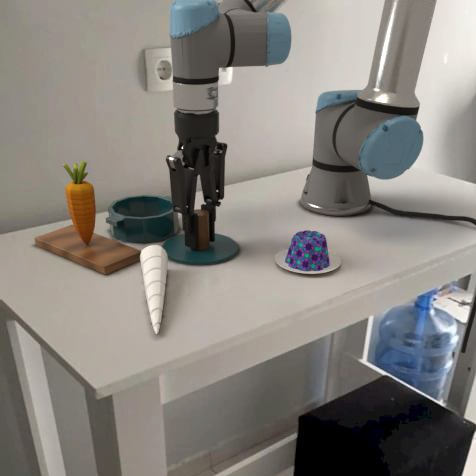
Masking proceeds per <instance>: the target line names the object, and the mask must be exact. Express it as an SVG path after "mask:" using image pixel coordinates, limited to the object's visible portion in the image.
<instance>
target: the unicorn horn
mask: <svg viewBox="0 0 476 476" xmlns="http://www.w3.org/2000/svg"><path fill="white" fill-rule="evenodd" d="M162 247H163V246H161V245H158V244H151V245H148V246H145V247H144V248H142V249H141V254H140V260H139V261H140V266H141V272H142V273H141V274H142V280H143V287H144V291H145V296H146V297H145V298H146V302H147V308H148V312H149V317H150V320H151V326H152V328H153V331H154V333H155V334H156V335H157V334H159V331H160V328H161V323H162V317H163V310H164V302H165V293H166V286H167V285H166V284H167V275H168V264H169V258H168V256H167V253H166V251H165V250H164V249H163V248H162Z"/></svg>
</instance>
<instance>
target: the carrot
mask: <svg viewBox="0 0 476 476" xmlns="http://www.w3.org/2000/svg"><path fill="white" fill-rule="evenodd" d="M87 165H88V162H87V161H86V160H81V162H80V165H78V163H77V162H76V163H74V164H73V170H72V169H71V167H70V166H69V165H68V164H67V163H63V164H62V168H64V169H65V170H66V172H67V174H68V175H69V176H70V178H71V180H72V181H70V182H69V183H67V185H66V186H65V189H64V192H65V193H64V194H65V198H66V203H67V208H68V213H69V216H70V219H71V222H72V225H74V227H75V230H76V231H77V233H78V235H79V237H80V238H81V239H82V241H83V242H84V243H85V244H87V245H88V244H89V242H90V241H91V238H92V235H93V233H95V227H96V216H97V206H96V197H95V194H96V193H95V188H94V185H93V184H92V183H91V182H89V181H86V180H85V178H87V176H88V175H89V172H88V171H85V170H86V167H87Z"/></svg>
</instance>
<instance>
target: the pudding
mask: <svg viewBox="0 0 476 476" xmlns="http://www.w3.org/2000/svg"><path fill="white" fill-rule="evenodd" d="M274 262H275V263H276V264H277V265H278V266H280V267H281V268H282V269H285V270H287V271H290V272H293V273H298V274H299V273H300V274H309V275H314V274H315V275H316V274H324V273H328V272H331V271H334V270H336V269H338V268H339V267H340V266H341V265H342V259H341V257H340V256H339V255H338V254H337V253H336V252H334V251H331V250H329V248H328V242H327V238H326V235H325V234H324V233H321V232H319V231H317V230H307V229H306V230H303V231H302V230H299V231H297V232H296V233H295V234H293V236H292V238H291V240H290V244H289V247H287V248H284V249H282V250H279V251H278V252H277V253H276V254H275V255H274Z"/></svg>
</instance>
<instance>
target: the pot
mask: <svg viewBox="0 0 476 476" xmlns="http://www.w3.org/2000/svg"><path fill="white" fill-rule="evenodd" d="M107 213H108V216H107V217H105V223H106V224H108V225H109V230H110V233H111V234H112V236H113V237H114V238H116V239H118V240H120V241H124V242H126V243H140V244H147V243H154V242H162V241H164V240H168V239H170V238H172V237H175V236H176V234H177V232H178V231H179V230H180V223H179V213H178V212H174V211H173V209H172V198H171V196H168V195H166V196H162V195H152V194H151V195H150V194H141V195H140V194H139V195H130V196H125V197H122V198H119V199H116V200H113V201H112V202H111V203H110V204H109V205H108V206H107Z"/></svg>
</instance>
